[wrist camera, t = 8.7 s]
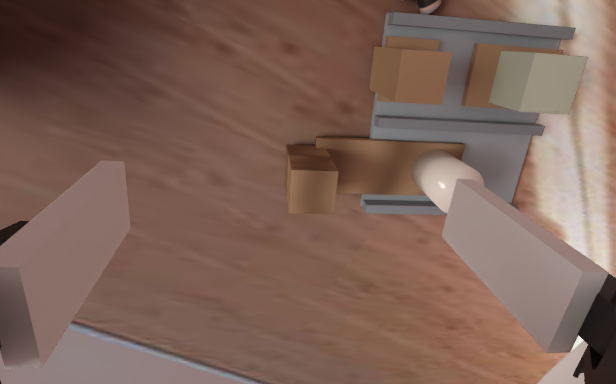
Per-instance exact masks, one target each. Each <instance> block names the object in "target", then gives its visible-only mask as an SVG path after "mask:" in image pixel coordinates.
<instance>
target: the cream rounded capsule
mask: <svg viewBox="0 0 616 384" xmlns="http://www.w3.org/2000/svg"><path fill="white" fill-rule="evenodd" d="M412 179H413V182H414V183H415V185H416V186H417V187H418V188H419V189H420V190H421V191H422V192H423V193H424V194H425V195H426V196H427V197H428V198H429V199H430V200H431V201H432V202H434V203H435V204H436V205H437V206H438V207H439V208H440V209H441V210H442V211H443V212H445V213H448V210H449V206H450V203H451V199H452V195H453V192H454V188H455V184H456V181H457V179H471V180H475V181H476V182H478V183H479V184H481V185H482V186H484V181H483V178H482V176H481V175H480V173H479V172H478V171H476V170H475V169H473V168H471V167H470V166H468V165H467V164H465V163H464V162H462V161H460V160H459V159H457V158H456V157H454V156H452V155H451V154H449V153H448V152H446V151H444V150H441V149H432V150H429V151H426V152H424V153H423V154H421V155H420V156H419V157H418V158H417V159H416V161H415V163H414V165H413V167H412Z"/></svg>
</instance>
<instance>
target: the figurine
mask: <svg viewBox="0 0 616 384" xmlns="http://www.w3.org/2000/svg"><path fill="white" fill-rule="evenodd" d="M400 1H404V0H400ZM418 4H419V9H420V13H421V14H424V15H428V14H430V13H432V12H433V11H434V10H436V9H437V8H438V7H439V5H440V4H441V0H418Z"/></svg>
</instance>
